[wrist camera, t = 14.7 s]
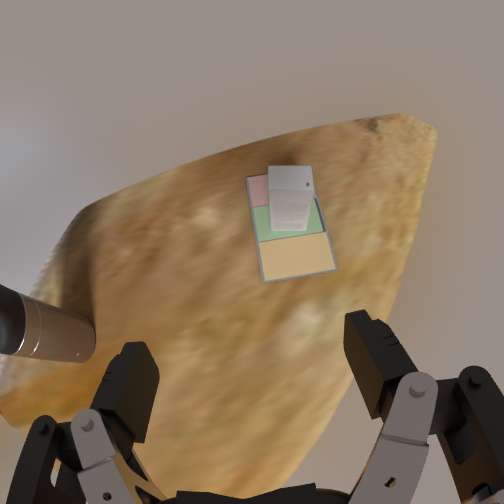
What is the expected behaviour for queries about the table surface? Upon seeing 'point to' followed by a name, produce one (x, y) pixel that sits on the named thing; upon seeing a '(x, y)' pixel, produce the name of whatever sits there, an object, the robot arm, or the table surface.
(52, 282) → the table surface
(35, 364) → the table surface
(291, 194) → the skincare box
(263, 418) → the table surface
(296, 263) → the multicoloured flat board
